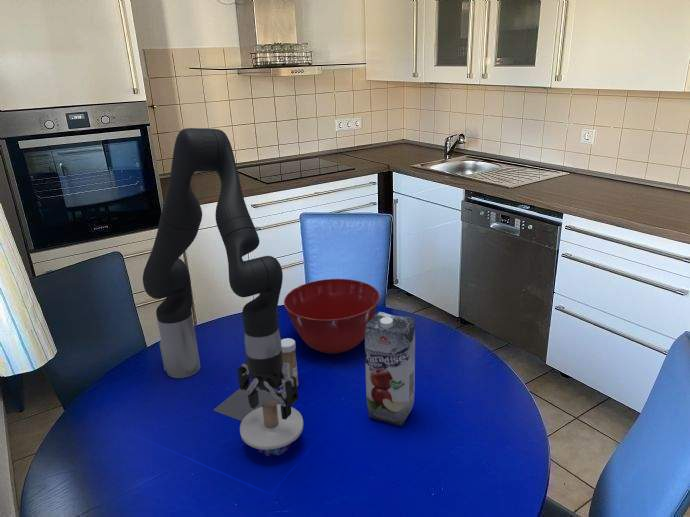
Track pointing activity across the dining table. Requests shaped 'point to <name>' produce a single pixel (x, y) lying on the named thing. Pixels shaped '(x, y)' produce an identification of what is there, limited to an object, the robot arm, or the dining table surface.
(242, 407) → the mat
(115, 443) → the dining table surface
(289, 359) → the sprinkles bottle
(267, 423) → the lid
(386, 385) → the juice carton
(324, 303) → the mixing bowl
